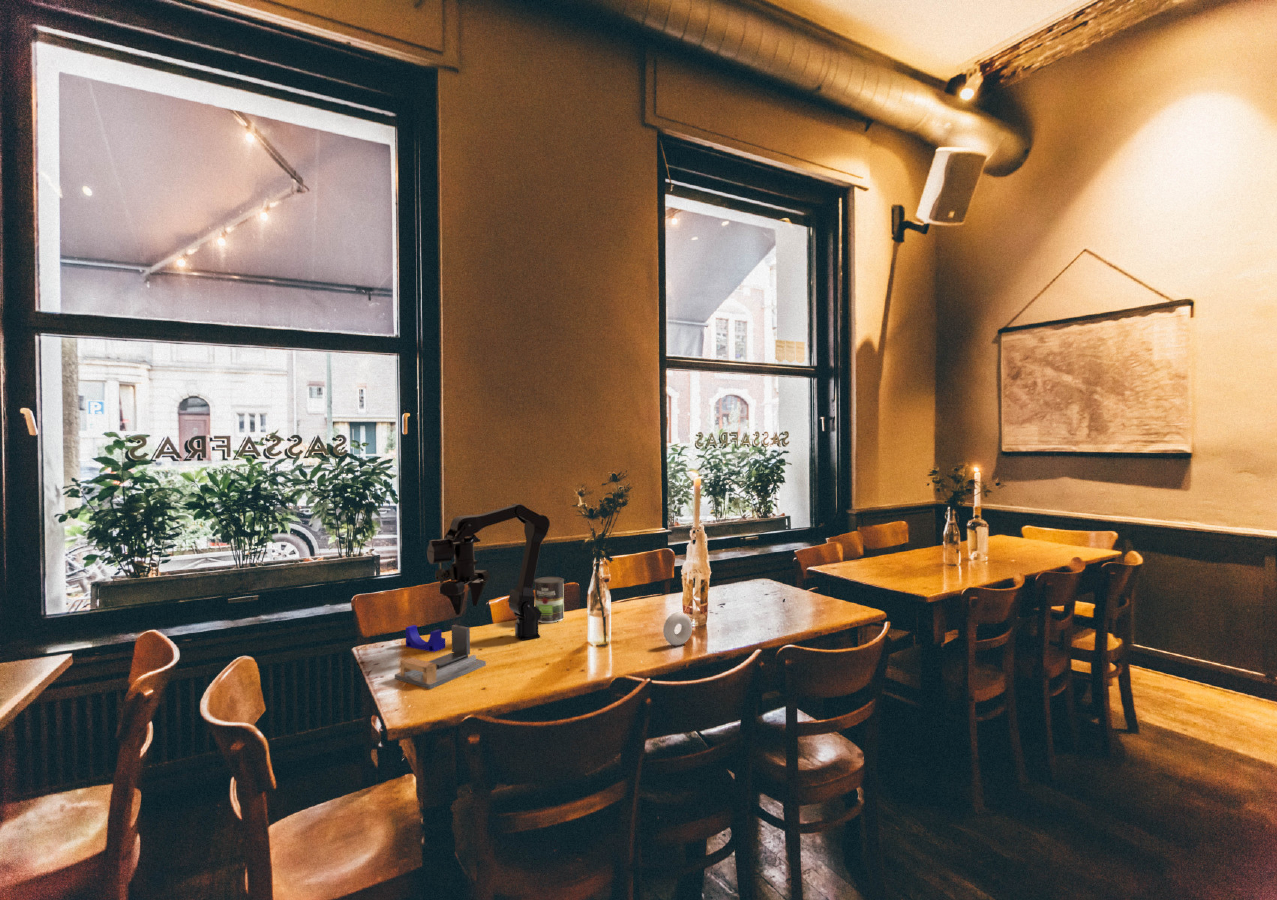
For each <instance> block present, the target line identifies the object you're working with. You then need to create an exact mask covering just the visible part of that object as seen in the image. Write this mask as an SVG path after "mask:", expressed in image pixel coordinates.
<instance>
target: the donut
mask: <svg viewBox="0 0 1277 900" xmlns="http://www.w3.org/2000/svg"><path fill="white" fill-rule="evenodd" d="M677 625H680V626H681V627H680V628H681V629H680V631H679V632H678V633H676V632H675V629H676V626H677ZM662 631H663V637H664V640H665V641H666V642H667V643H668V644H670V645H672V646H675V647H676V646H681V645H683V644H685V643H686V642H687V641H688V640H689V639H690V638H691V635H692V632H693V622H692V620H691V618H690V616H689V615H688V614H686V613H684V612H680V611H679V612H674V613H672V614H671V615H669V616H668V617H667V618H666V620H665V622H664V624H663V630H662Z"/></svg>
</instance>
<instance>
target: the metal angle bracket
mask: <svg viewBox="0 0 1277 900" xmlns="http://www.w3.org/2000/svg"><path fill="white" fill-rule="evenodd" d="M470 629H471V628H470V627H469V626H468V627H467V626H463V625H457V624H453V625H451V652H450V653H451V654H449V653H447V654H448V655H447V654H445V655H446V656H444V655H442V656H443V657H442V656H440V658H439V657H437V658H438V659H436V658H434V659H435V660H434V659H432V660H433V661H431V660H429V661H430V663H434V664H436V670H437V669H439V668H442V667H444V666H447V665H449V664H452V663H454V662H457V661H459V660H462V659H464V658H467V657H469V655H471V640H470V639H471V637H470V636H471V635H470V633H471V630H470Z"/></svg>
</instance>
